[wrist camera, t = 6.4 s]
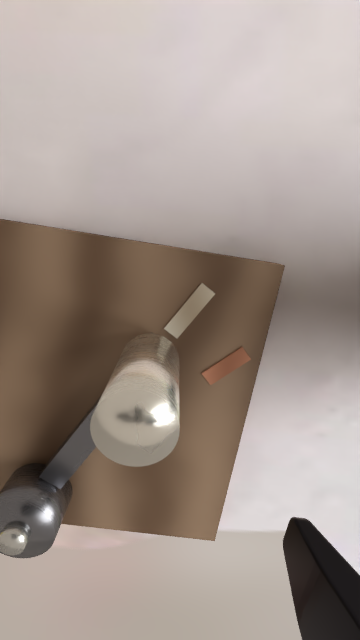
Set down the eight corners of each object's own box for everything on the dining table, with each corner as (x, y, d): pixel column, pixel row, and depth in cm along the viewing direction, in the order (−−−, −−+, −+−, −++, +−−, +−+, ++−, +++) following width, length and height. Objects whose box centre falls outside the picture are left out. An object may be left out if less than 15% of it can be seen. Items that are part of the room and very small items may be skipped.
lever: (51, 522, 21) (-11, 663, 14) (-3, 493, 20) (-97, 627, 13) (197, 353, 17) (210, 432, 10) (138, 309, 17) (109, 363, 10)
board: (277, 263, 17) (285, 265, 16) (212, 525, 23) (214, 542, 22) (-120, 199, 16) (-145, 196, 15) (-83, 491, 22) (-99, 507, 21)
